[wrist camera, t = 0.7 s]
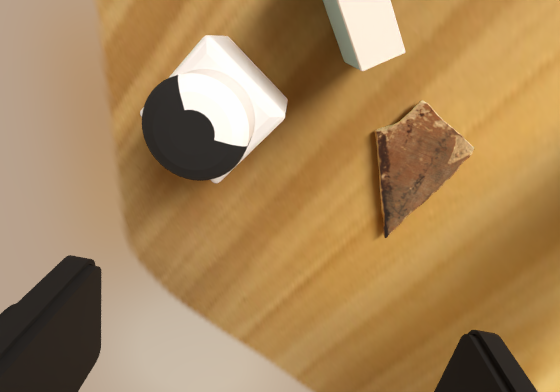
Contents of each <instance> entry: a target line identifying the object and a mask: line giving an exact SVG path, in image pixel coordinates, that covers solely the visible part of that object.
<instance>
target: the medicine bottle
mask: <svg viewBox="0 0 560 392" xmlns="http://www.w3.org/2000/svg"><path fill="white" fill-rule="evenodd" d="M287 104H288V99H287V98H286V97H285V96H284V95H283V93H282V92H281V91H280V90H279V89H278V88H277V87H276V86H275V85H274V84H273V83H272V82H271V81H270V80H269V79H268V78H267V77H266V76H265V75H264V73H263V72H262V71H261V70H260V69H259V68H258V67H257V66H256V65H255V64H254V63H253V62H252V61H251V60H250V59H249V58H248V57H247V56H246V55H245V53H244V52H243V51H242V50H241V49H240V48H239V47H238V46H237V45H236V44H235V43H234V42H233V41H232V40H231V39H230V38H229V37H228V36H212V35H206V36H204V37H203V38H202V39H201V40H200V41H199V43H198V44H197V45H196V46H195V47H194V49H193V50H192V51H191V52H190V53H189V54H188V56H187V57H186V58H185V59H184V60H183V61H182V63H181V64H180V65H179V66H178V67H177V68H176V70H175V71H174V72H173V73H172V74H171V76H170V77H169V78H168V79H166V80H164V81H163V82H161V83H160V84H159V85H157V87H156V88H155V89H154V90H153V91H152V92H151V94H150V95H149V96H148V98H147V100H146V102H145V105H144V107H143V108H142V110H141V112H140V116H141V117H142V130H143V135H144V139H145V141H146V144H147V146H148V148H149V150H150V152H151V153H152V155H153V156H154V157H155V159H156V160H157V161H158V162H159V163H160V164H161V165H162V166H164V167H165V168H166V169H167V170H169V171H170V172H172V173H174V174H176V175H178V176H180V177H183V178H186V179H191V180H200V181H201V180H211V181H212V182H213V183H219V182H221V181H222V180H223V179H224V178H225V177H226V176H227V175H228V174H229V173H230V172H231V171H232V170H233V169H234V168H235V167H236V166H237V165H238V164H239V163H240V162H241V161H242V160H243V159H244V158H245V157H246V156H247V155H248V154H249V153H250V152H251V151H252V150H253V149H254V148H255V147H256V146H257V145H259V144H260V143H261V142H262V141H263V140H264V139H265V138H266V137H267V136H268V135H269V134H270V133H271V132H272V131H273V130H274V129H275V128H276V127H277V126H278V125H279V124H280V123H281V122H282V121H283V120H284V119H285V116H286V110H287Z"/></svg>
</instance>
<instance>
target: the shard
mask: <svg viewBox="0 0 560 392" xmlns="http://www.w3.org/2000/svg"><path fill="white" fill-rule="evenodd" d="M374 133H375V138H376V145H377V160H378V166H379V184H380V185H379V188H380V198H381V212H382V216H383V223H384V226H383V229H384V237H385V238H387V237H388V235H389V234H390V233H391V232H392V231H393V230H394V229H396V227H398V226H399V225H400V224H401V223H402V221H403V220H404V219H405V218H406V217H407V216H408V215H409V214H410V213H412V212H413V211H414V210H415V209H416V208H417V207H418V206H420V205H421V204H423V203H424V202H425V201H426V200H427V199H428V198H429V197H430V196H431V195H432V194H433V193H435V192H436V191H437V190H438V189H439V188H440V187H441V186H442V185H443V184H444V183H445V182H446V181H447V180H448V179H450V178H451V177H452V175H453V174H454V173H455V172H456V171H457V170H458V169H459V167H460V165H461V164H462V163H463V162H464V161H465V160H466V159H468V158H469V157H470V156H471V155H472V153H473V150H474V147H473V146H472V145H471V144H470V143H469V142H468V141H466V140H465V138H464V137H463V136H462V135H461V134H460V133H458V132H457V131H456V130H455V129H454V128H453V127H451V126H450V125H449V124H448V123H446V122H445V121H444V120H443V119H442V118H441V117H440V116H438V114H437V113H436V112H435V111H434V109H433V108H432V107H431V106H430V105H429V104H428V103H426V102H424V101H423V100H422V101H420V102H419V103H418V104H417V105H416V106H415V107H414V108H413V109H412V110H411V111H410V112H409V113H408V114H407V115H406V116H405V117H404V118H402V119H401V120H400V121H399V122H398V123H395V124H392V125H389V126H385V127H383V128H380V129H377V130H375V131H374Z"/></svg>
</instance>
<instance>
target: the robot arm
mask: <svg viewBox="0 0 560 392" xmlns="http://www.w3.org/2000/svg"><path fill="white" fill-rule="evenodd" d="M100 349H101V269H100V267H97V266H95V262H94V260H92V259H87V258H81V257H76V256H71V255H70V256H67V257H66V258H64V259H63V260H62V261H61V262H60V263H59V264H58V265H57V266H56V267H55V268H54V269H53V270H52V271H51V272H49V273H48V274H47V275H46V276H45V277H44V278H43V279H42V280H41V281H40V282H39V283H38V284H37V285H36V286H35V287H34V288H33V289H32V290H31V291H29V292H28V293H27V294H26V295H25V296H24V297H23V298H22V299H21V300H20V301H19V302H18V303H16V304H13V305H11V306H10V307H8V308H7V309H6V310H4V311H3V312H2V313H1V314H0V392H78V390H79V389H80V387H81V386H82V384H83V382H84V381H85V379H86V378H87V376H88V374H89V373H90V371H91V369H92V368H93V366H94V365H95V363H96V361H97V359H98V357H99V353H100ZM434 392H537V390H536V389H535V387H534V386H533V384H532V383H531V381H530V380H529V379H528V377H527V376H526V374H525V373H524V371H523V370H522V368H521V367H520V365H519V364H518V362H517V361H516V360H515V358H514V357H513V355H512V354H511V352H510V351H509V349H508V348H507V346H506V345H505V343H504V342H503V340H502V339H501V338H500V337H499V336H498V335H497V334H495V333H489V332H484V331H478V330H471V331H470V332H469V333H468V334H464V335H463V336H462V337H461V339H460V341H459V343H458V345H457V347H456V349H455V351H454V353H453V355H452V357H451V359H450V361H449V363H448V365H447V367H446V369H445V371H444V373H443V375H442V377H441V379H440V381H439V383H438V385H437V387H436V389H435V391H434Z"/></svg>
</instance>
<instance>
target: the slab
mask: <svg viewBox="0 0 560 392" xmlns="http://www.w3.org/2000/svg"><path fill="white" fill-rule="evenodd" d="M323 3H324V6H325V9H326V11H327V14H328V17H329V20H330V23H331V26H332V28H333V31H334V34H335V37H336V40H337V43H338V45H339V48H340V51H341V54H342V57H343V60H344V62H346V63H347V64H349V65H351V66H353V67H355V68H357V69H359V70H361V71H364V70H367V69H369V68H371V67H373V66H376V65H378V64H380V63H383V62H385V61H387V60H389V59H392V58H394V57H396V56H399V55H401V54H403V53H405V49H404V45H403V42H402V38H401V35H400V32H399V28H398V25H397V21H396V18H395V14H394V11H393V8H392V4H391V1H390V0H323Z"/></svg>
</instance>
